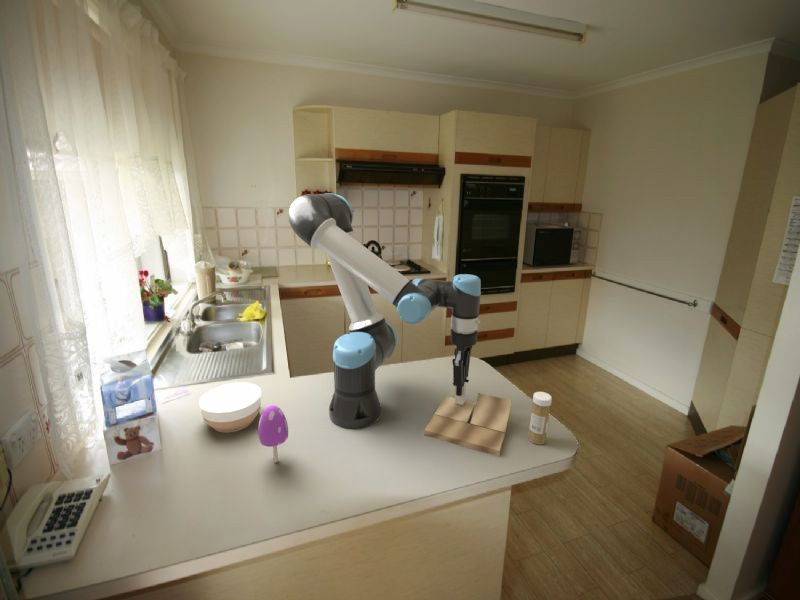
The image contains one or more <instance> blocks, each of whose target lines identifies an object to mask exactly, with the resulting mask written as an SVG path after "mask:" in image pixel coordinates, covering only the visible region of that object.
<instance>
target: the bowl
mask: <svg viewBox="0 0 800 600" xmlns="http://www.w3.org/2000/svg"><path fill="white" fill-rule="evenodd" d="M261 396H262V389H261V387H259V386H258V385H256V384H253V383H251V382H240V381H239V382H238V381H237V382H231V383H226V384H222V385H219V386H216V387H214V388H211V389H210V390H208V391H206V392H204V394H202V396H201V397H200V399H198V400H199V401H198V407H199V408H200V409H201V412H200V413H201V416H202V418H203V421H204V422H205V423H206V424H207V425H208V426H209V427H211V428H213V429H214V430H215V431H216V432H218V433H227V434H229V433H235V432H238V431H240V430H241V431H242V430H244V429H245V428H247V427H248V426H250V425H251V424H252V423H253V422H254V419H255V418H256V417H257V415H258V414H259V412H260V410H261V405H262V400H261V399H262V398H261Z"/></svg>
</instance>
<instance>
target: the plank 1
mask: <svg viewBox="0 0 800 600" xmlns="http://www.w3.org/2000/svg"><path fill="white" fill-rule="evenodd" d="M454 400H455V397H451V396H447V395H444V397H443V398H442V401H441V402H440V404H439V406H438V407H437V409H436V411H435V413H434V414H433V416H434V415H437V416H441V417H445V418H449V419H453V420H456V421H460V422H464V423H468V424H469V421H470V420H471V418H472V415H473V412H474V408H475V405H476V402H473V401H468V400H465V403H464V405H460V404H455V403H454Z"/></svg>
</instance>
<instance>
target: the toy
mask: <svg viewBox="0 0 800 600" xmlns="http://www.w3.org/2000/svg"><path fill="white" fill-rule="evenodd" d="M257 433H258V441H259V442H260V444H261V445H262V446H264V447H269V448H270V447H271V448H272V455H273V462H274V463H276V464H277V463H278V462H279V454H278V446H279V445H280V446H281V445H282V444H283V443H285V442H286V441H287V439H288V438H289V425H288V421H287V418H286V416H285V413H284V412H283V410H282V409H281V408H280V407H278V406H277V405H273V404H272V405H269V406H267V407H265V409H264V410H263V411H262V413H261V415H260V417H259V422H258V432H257Z"/></svg>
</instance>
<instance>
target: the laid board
mask: <svg viewBox="0 0 800 600" xmlns="http://www.w3.org/2000/svg"><path fill="white" fill-rule="evenodd" d="M423 435H424V436H426V437H430V438H433V439H437V440H440V441H444V442H448V443H450V444H454V445H459V446H460V447H461V446H462V447H466V448H468V449H472V450H476V451H479V452H481V453H482V452H483V453H486V454H490V455H494V456H497V457H500V454H501V451H502V447H503V443H504V440H505V437H506V432H505V433H503V432H499V431H495V430H491V429H487V428H483V427H480V426H476V425H472V424H470V423H469V422H468V423H464V422H460V421H456V420H453V419H449V418H445V417H441V416H437V415H434V414H433V416H432V417H431V419H430V421H429V422H428V424H427V425H426V427H425V428H424V432H423Z"/></svg>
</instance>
